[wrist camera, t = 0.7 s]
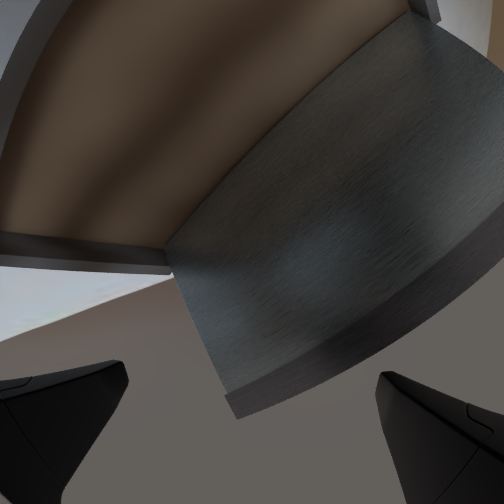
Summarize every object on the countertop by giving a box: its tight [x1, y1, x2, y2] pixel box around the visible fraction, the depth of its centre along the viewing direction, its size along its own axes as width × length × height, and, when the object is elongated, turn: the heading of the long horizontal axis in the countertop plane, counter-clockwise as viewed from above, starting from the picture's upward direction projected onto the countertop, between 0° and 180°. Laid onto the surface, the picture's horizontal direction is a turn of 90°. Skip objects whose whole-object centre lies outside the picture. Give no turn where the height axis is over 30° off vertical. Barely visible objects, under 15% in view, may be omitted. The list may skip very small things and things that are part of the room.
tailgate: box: [163, 10, 504, 419], centre depth 13 cm, size 2×22×12 cm, turn 131°
